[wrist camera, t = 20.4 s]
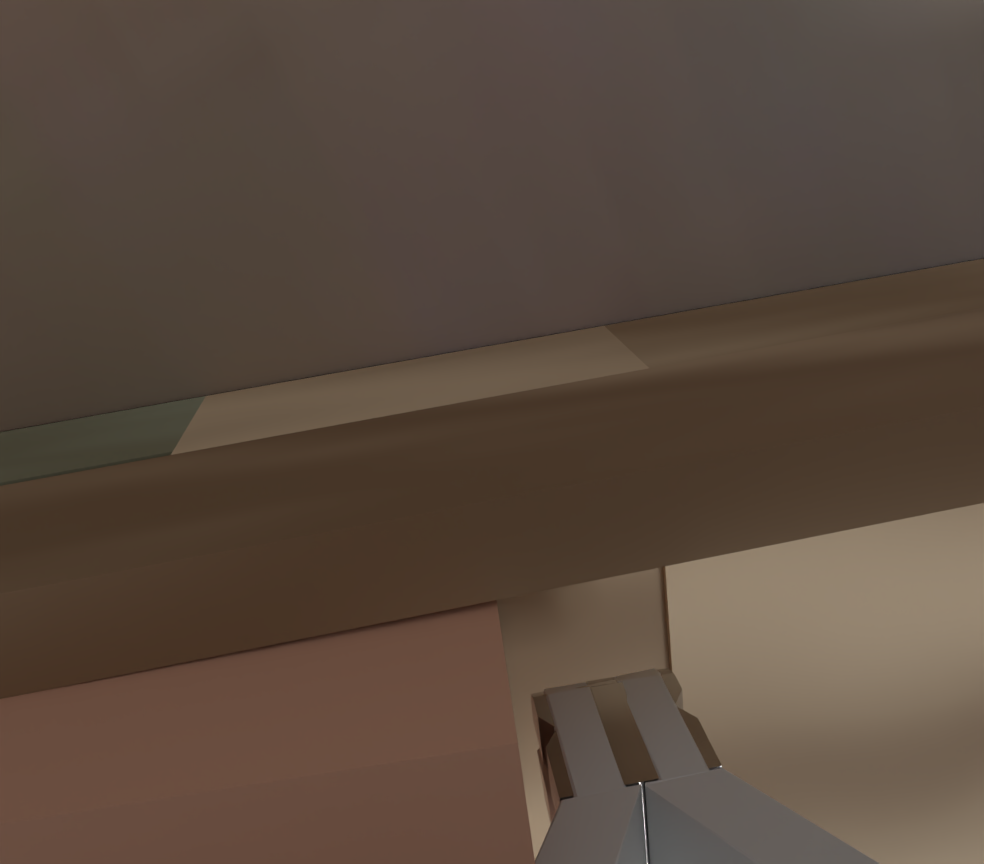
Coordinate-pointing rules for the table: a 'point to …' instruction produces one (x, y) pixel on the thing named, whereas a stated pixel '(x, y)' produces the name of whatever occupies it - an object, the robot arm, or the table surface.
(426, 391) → the trap box
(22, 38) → the table surface
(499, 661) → the block
